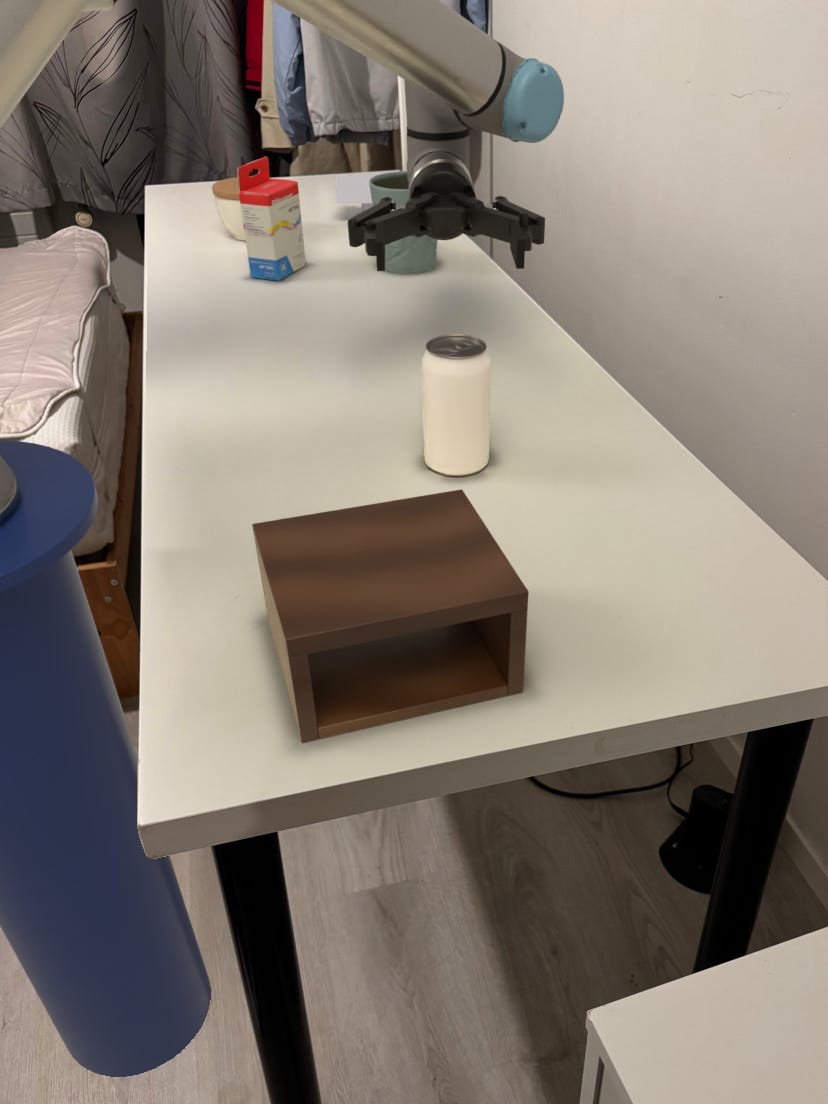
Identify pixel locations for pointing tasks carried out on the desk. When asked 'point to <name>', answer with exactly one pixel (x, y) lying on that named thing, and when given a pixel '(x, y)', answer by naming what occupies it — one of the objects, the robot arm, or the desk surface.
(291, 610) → the shelf
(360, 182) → the wedge on round base
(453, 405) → the can
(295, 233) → the ink box
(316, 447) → the desk surface
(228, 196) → the trinket box
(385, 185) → the green embossed cup
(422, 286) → the desk surface
